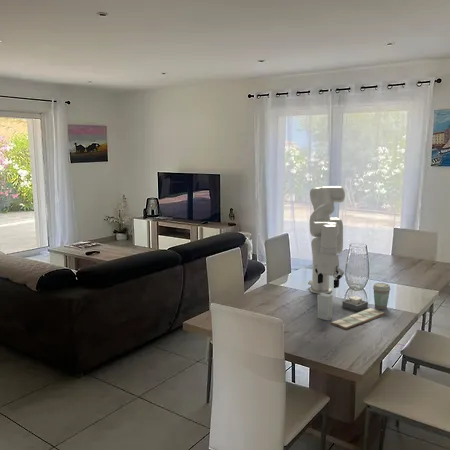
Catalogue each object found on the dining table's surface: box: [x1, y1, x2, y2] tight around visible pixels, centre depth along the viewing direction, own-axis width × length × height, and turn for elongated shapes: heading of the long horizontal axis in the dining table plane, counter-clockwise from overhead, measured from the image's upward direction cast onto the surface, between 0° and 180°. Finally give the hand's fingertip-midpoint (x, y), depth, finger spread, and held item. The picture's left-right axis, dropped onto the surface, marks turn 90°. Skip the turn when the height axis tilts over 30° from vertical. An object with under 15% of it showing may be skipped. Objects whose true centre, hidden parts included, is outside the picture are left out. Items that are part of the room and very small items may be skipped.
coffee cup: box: [372, 282, 391, 310], centre depth 233 cm, size 9×8×12 cm
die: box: [348, 295, 363, 305], centre depth 234 cm, size 5×5×5 cm
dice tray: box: [341, 298, 369, 313], centre depth 235 cm, size 9×9×3 cm
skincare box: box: [316, 293, 333, 321], centre depth 219 cm, size 6×4×12 cm
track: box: [330, 307, 386, 331], centre depth 219 cm, size 9×30×1 cm, turn 127°
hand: (328, 285), depth 219 cm, fingers open, 9 cm apart
